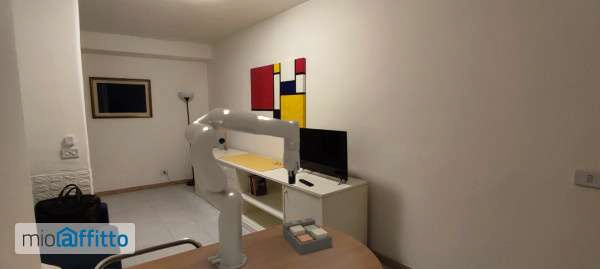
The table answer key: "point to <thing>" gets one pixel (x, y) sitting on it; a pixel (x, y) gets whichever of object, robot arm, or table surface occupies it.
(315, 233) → the key cream right
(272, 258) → the table surface
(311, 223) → the keypad
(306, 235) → the key terracotta
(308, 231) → the key sage
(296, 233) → the key cream left
